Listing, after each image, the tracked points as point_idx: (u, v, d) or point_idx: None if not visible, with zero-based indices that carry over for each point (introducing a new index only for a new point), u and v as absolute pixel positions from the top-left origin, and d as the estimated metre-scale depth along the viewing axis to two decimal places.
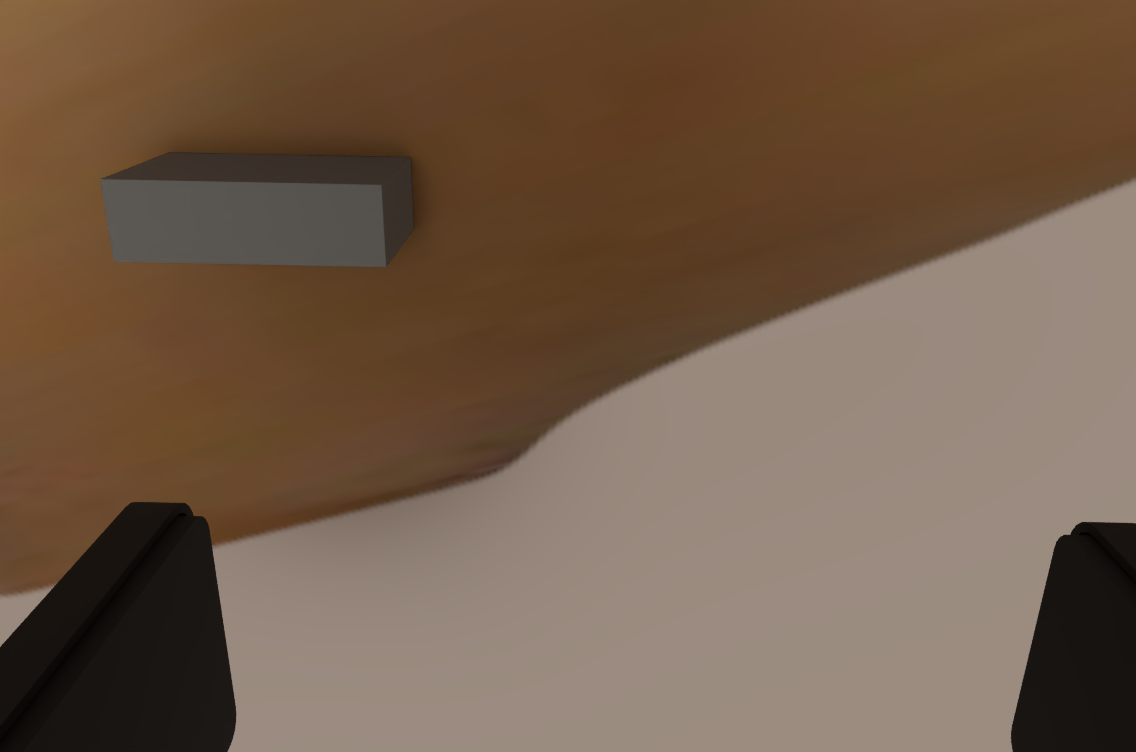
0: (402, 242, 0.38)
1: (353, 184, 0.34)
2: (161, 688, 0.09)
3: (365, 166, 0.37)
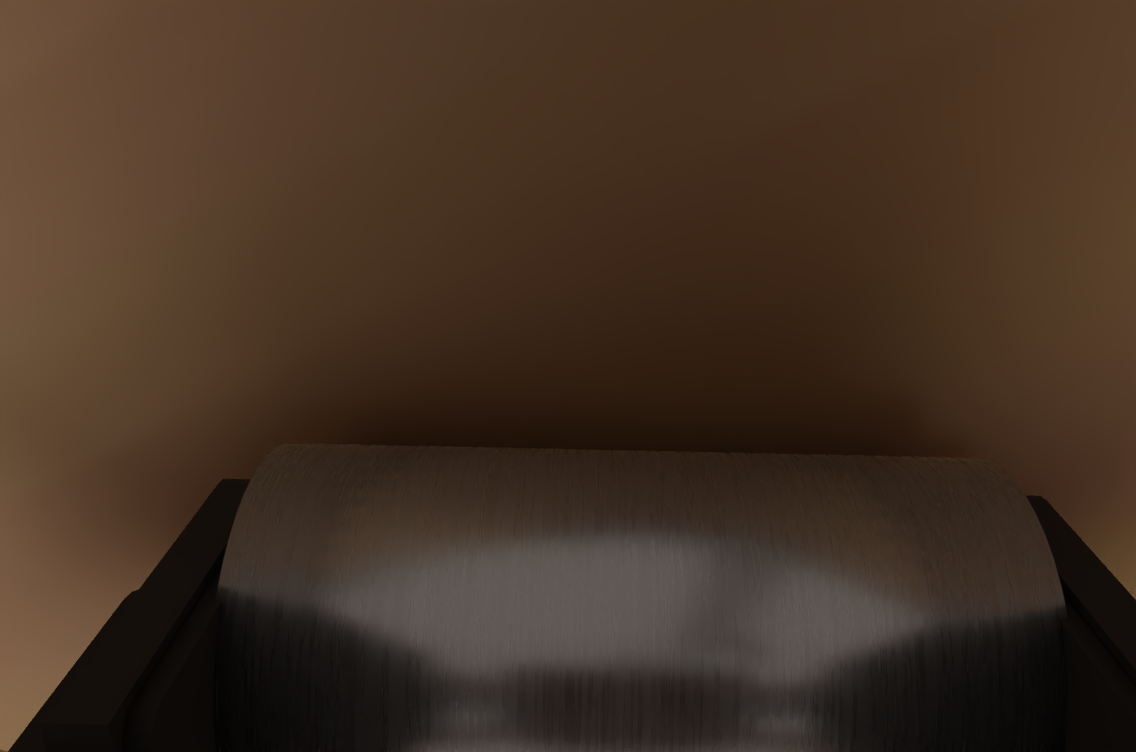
0: None
1: None
2: None
3: None
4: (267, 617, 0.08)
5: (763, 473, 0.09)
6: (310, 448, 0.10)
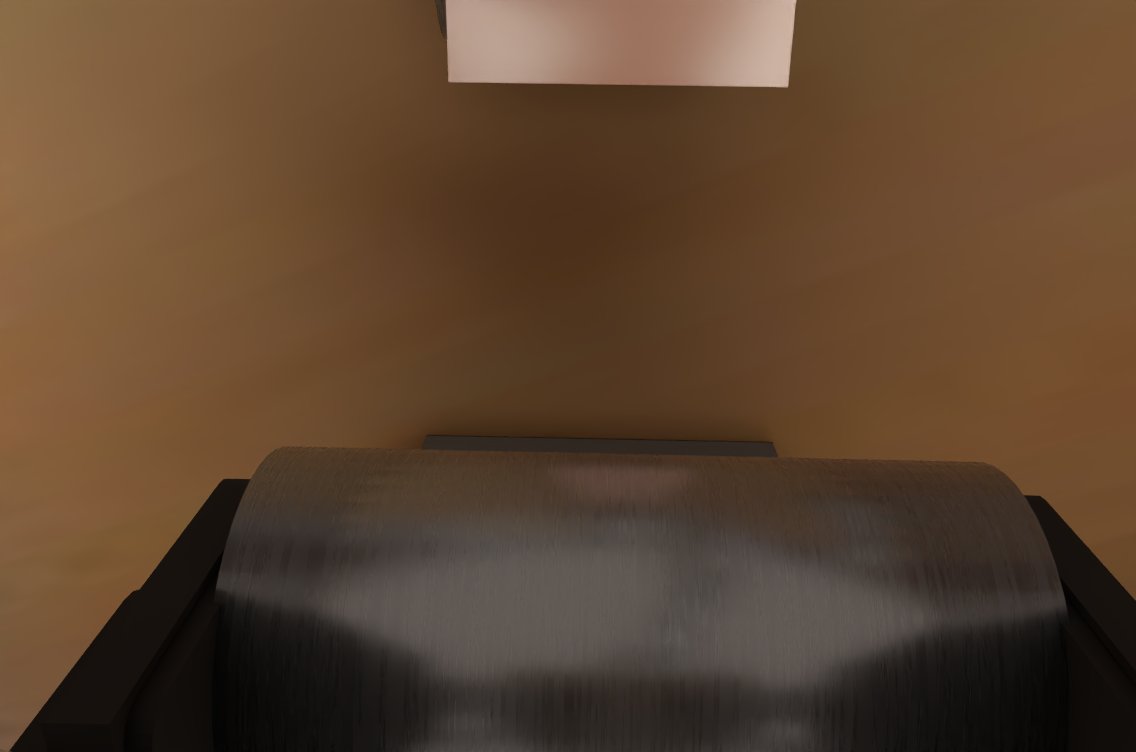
0: None
1: None
2: None
3: None
4: (265, 622, 0.08)
5: (763, 478, 0.09)
6: (308, 452, 0.10)
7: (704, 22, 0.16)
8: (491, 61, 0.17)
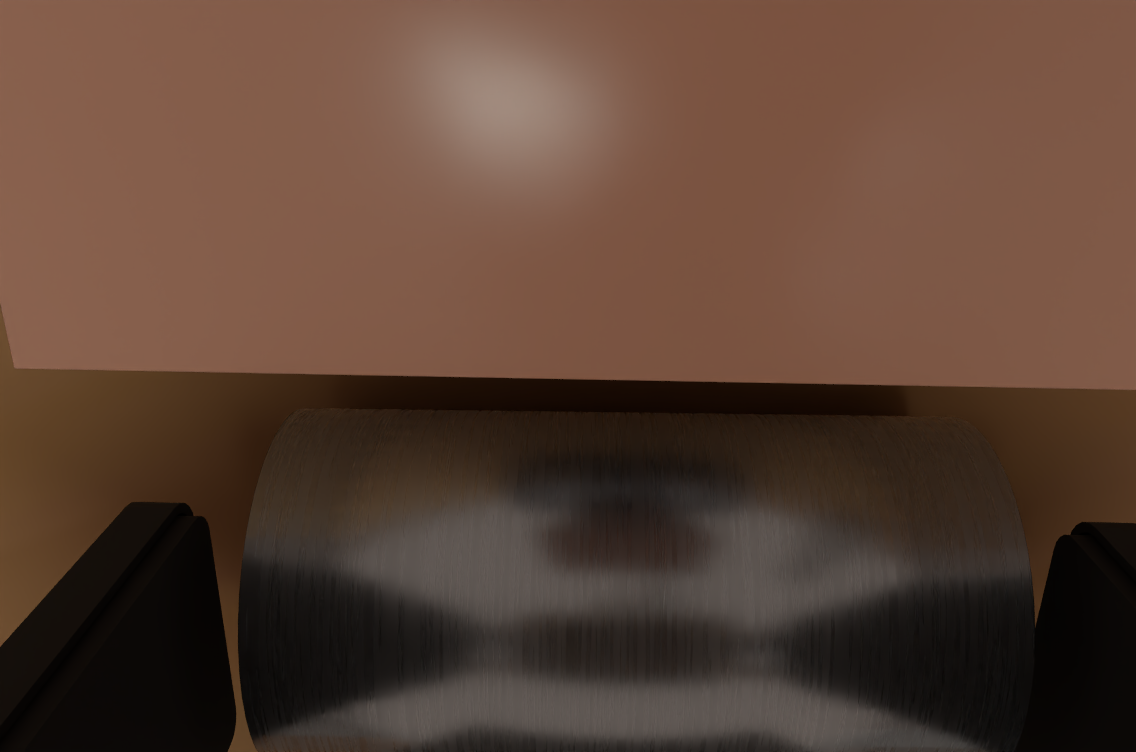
0: None
1: None
2: (161, 688, 0.09)
3: None
4: (292, 555, 0.09)
5: (749, 427, 0.10)
6: (328, 411, 0.11)
7: (1097, 139, 0.04)
8: (181, 292, 0.04)
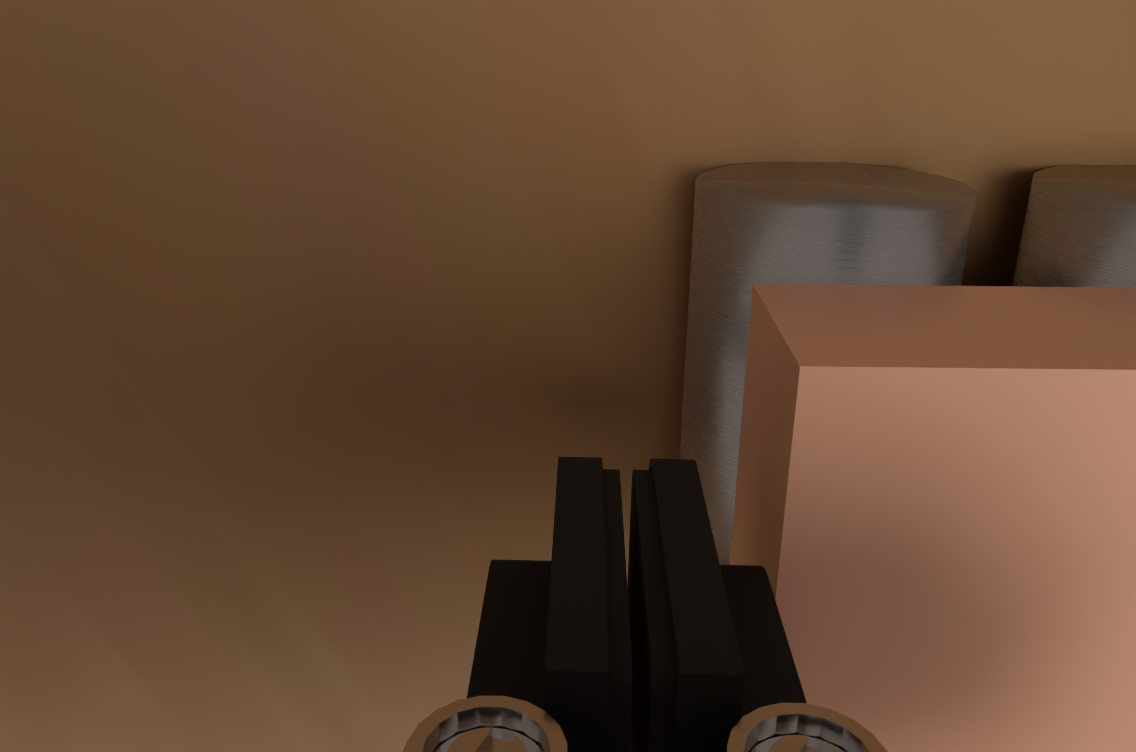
0: None
1: None
2: None
3: None
4: None
5: None
6: None
7: None
8: None
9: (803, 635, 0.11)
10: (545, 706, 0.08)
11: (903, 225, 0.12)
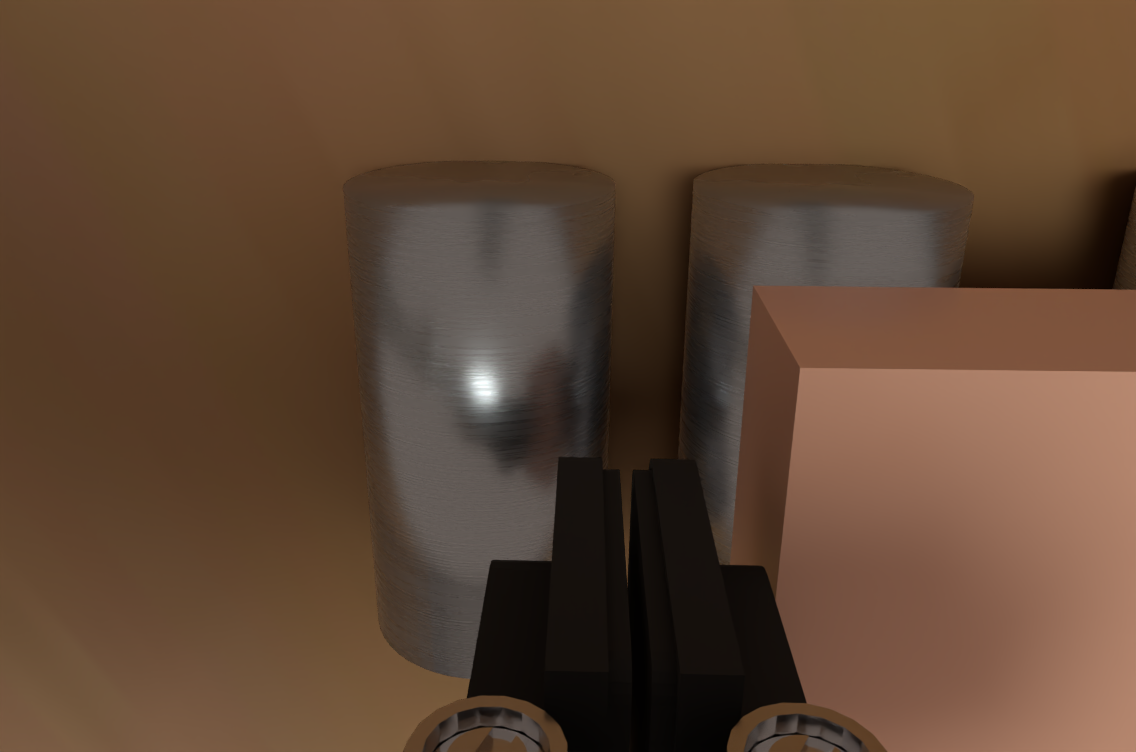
0: None
1: None
2: None
3: None
4: None
5: None
6: None
7: None
8: None
9: (803, 636, 0.11)
10: (545, 707, 0.08)
11: (503, 222, 0.12)
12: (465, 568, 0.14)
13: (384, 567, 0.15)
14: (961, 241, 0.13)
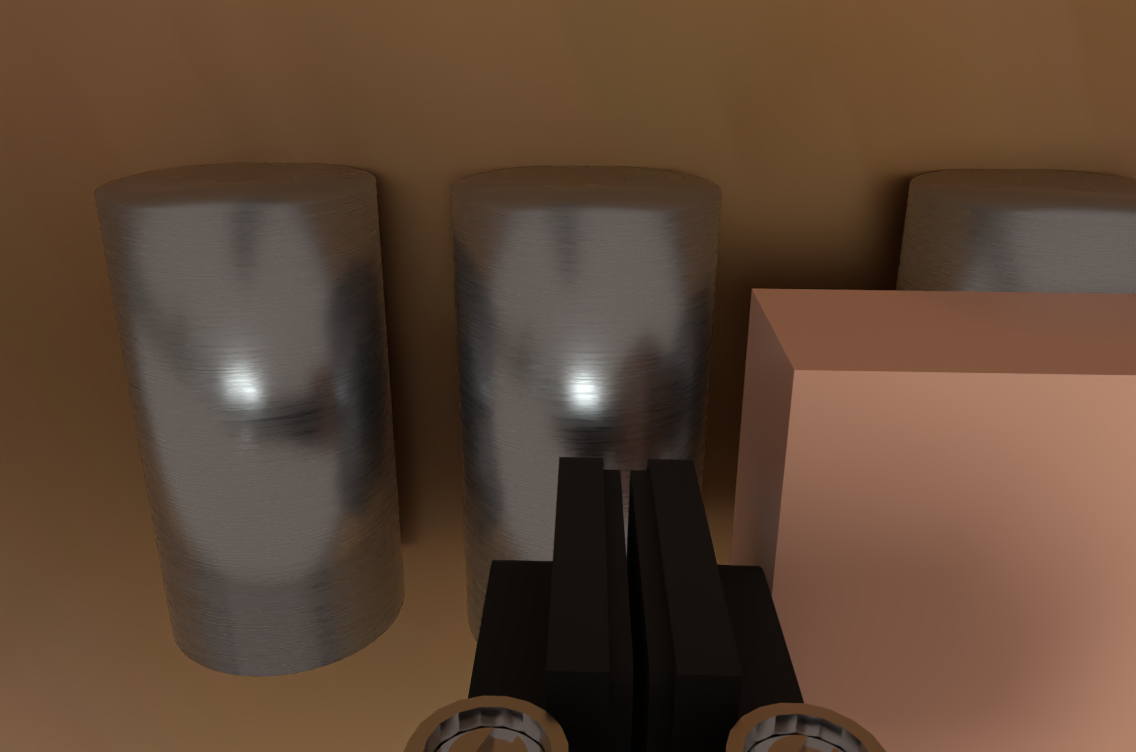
0: None
1: None
2: None
3: None
4: None
5: None
6: None
7: None
8: None
9: (799, 640, 0.11)
10: (546, 706, 0.08)
11: (230, 222, 0.13)
12: (227, 565, 0.15)
13: (162, 565, 0.15)
14: (701, 241, 0.13)
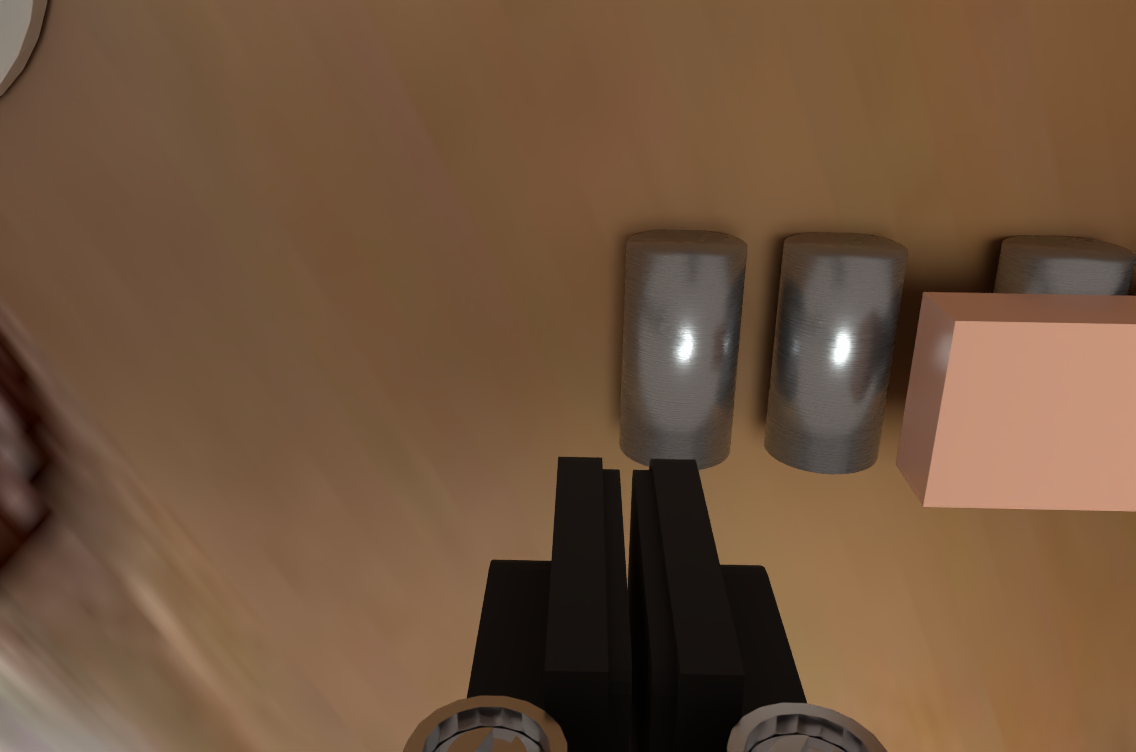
0: None
1: None
2: None
3: None
4: None
5: None
6: None
7: None
8: None
9: (949, 424, 0.28)
10: (545, 706, 0.08)
11: (712, 263, 0.30)
12: (681, 416, 0.32)
13: (636, 421, 0.33)
14: (904, 269, 0.31)
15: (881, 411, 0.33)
